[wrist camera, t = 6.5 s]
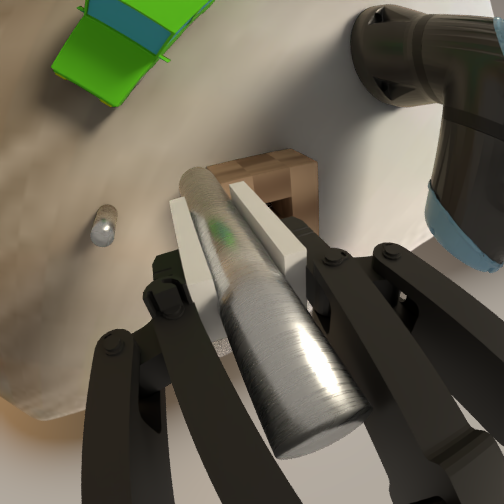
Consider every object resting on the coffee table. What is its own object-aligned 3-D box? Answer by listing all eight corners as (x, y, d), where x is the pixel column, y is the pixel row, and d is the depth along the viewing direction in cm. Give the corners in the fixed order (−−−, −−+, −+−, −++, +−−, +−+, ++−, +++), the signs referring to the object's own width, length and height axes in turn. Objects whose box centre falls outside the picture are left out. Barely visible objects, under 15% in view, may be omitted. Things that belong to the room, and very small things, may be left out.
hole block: (206, 166, 30) (219, 184, 26) (290, 148, 32) (317, 161, 28) (222, 243, 36) (236, 270, 31) (295, 221, 38) (318, 244, 33)
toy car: (54, 68, 19) (14, 62, 11) (140, -32, 16) (141, -76, 8) (129, 113, 25) (120, 124, 17) (214, 15, 22) (245, -13, 14)
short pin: (94, 208, 28) (86, 229, 24) (113, 201, 29) (109, 221, 25) (101, 227, 30) (96, 250, 26) (120, 220, 30) (117, 242, 26)
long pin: (175, 172, 17) (270, 442, 4) (212, 163, 18) (383, 390, 5) (183, 206, 19) (278, 466, 6) (219, 197, 19) (361, 429, 6)
